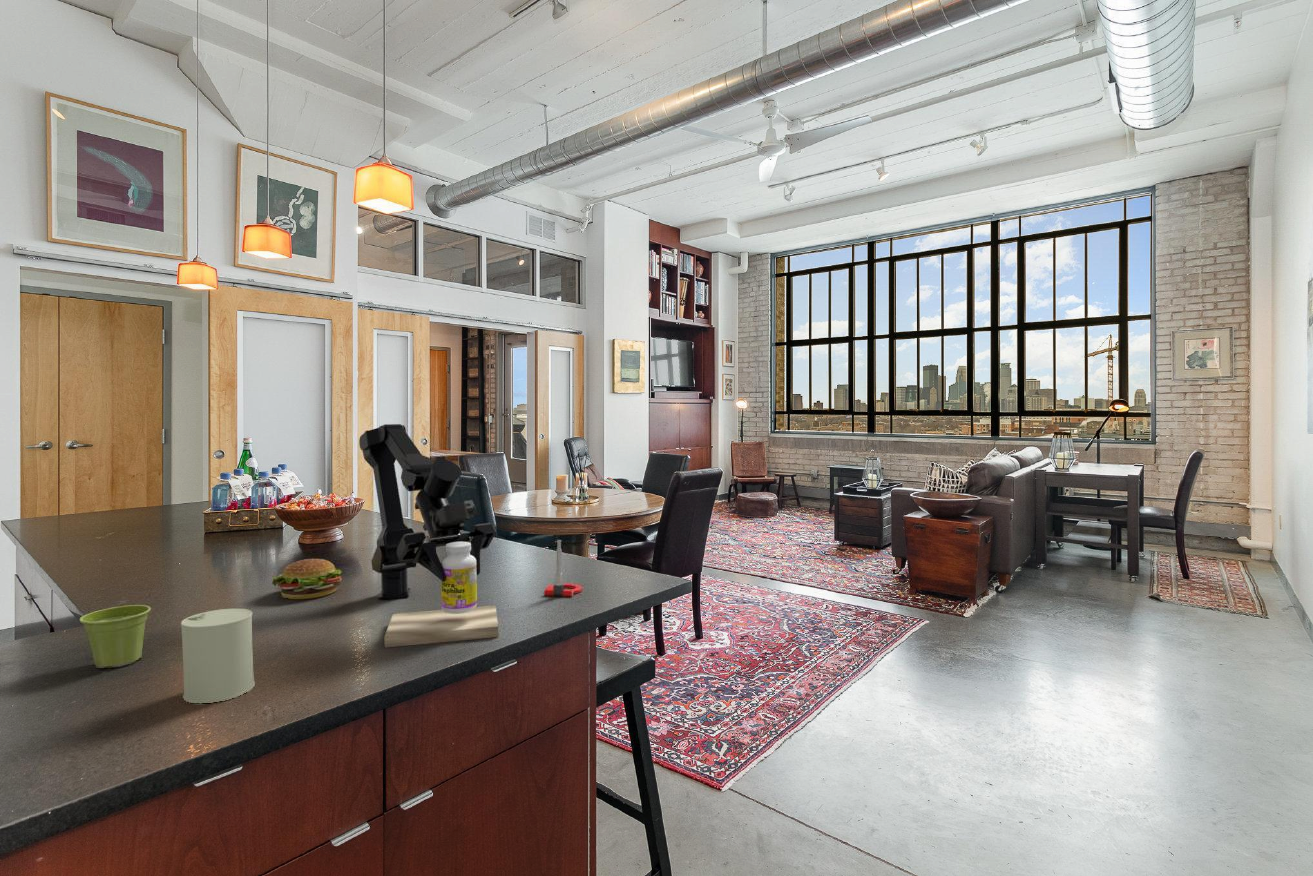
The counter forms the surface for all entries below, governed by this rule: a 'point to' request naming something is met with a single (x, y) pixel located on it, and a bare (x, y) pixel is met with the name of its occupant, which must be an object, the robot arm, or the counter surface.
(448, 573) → the supplement bottle
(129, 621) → the plant pot
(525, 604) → the counter surface
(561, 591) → the tow hook
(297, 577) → the food
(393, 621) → the birch board
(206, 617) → the can
